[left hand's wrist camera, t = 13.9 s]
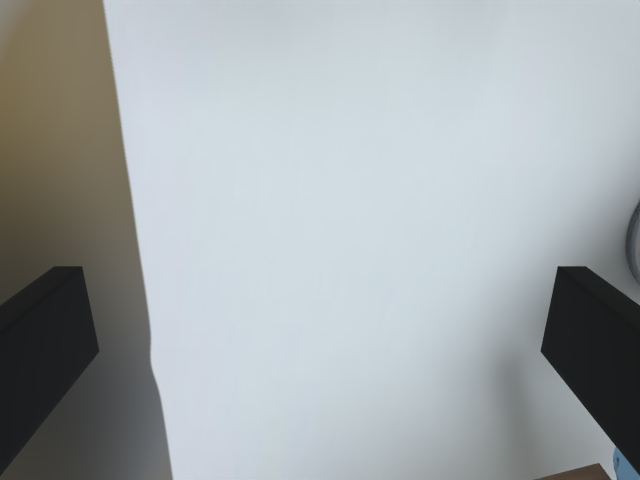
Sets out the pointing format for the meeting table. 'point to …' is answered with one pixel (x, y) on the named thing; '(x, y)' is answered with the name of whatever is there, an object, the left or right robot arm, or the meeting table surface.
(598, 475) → the box
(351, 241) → the meeting table surface
